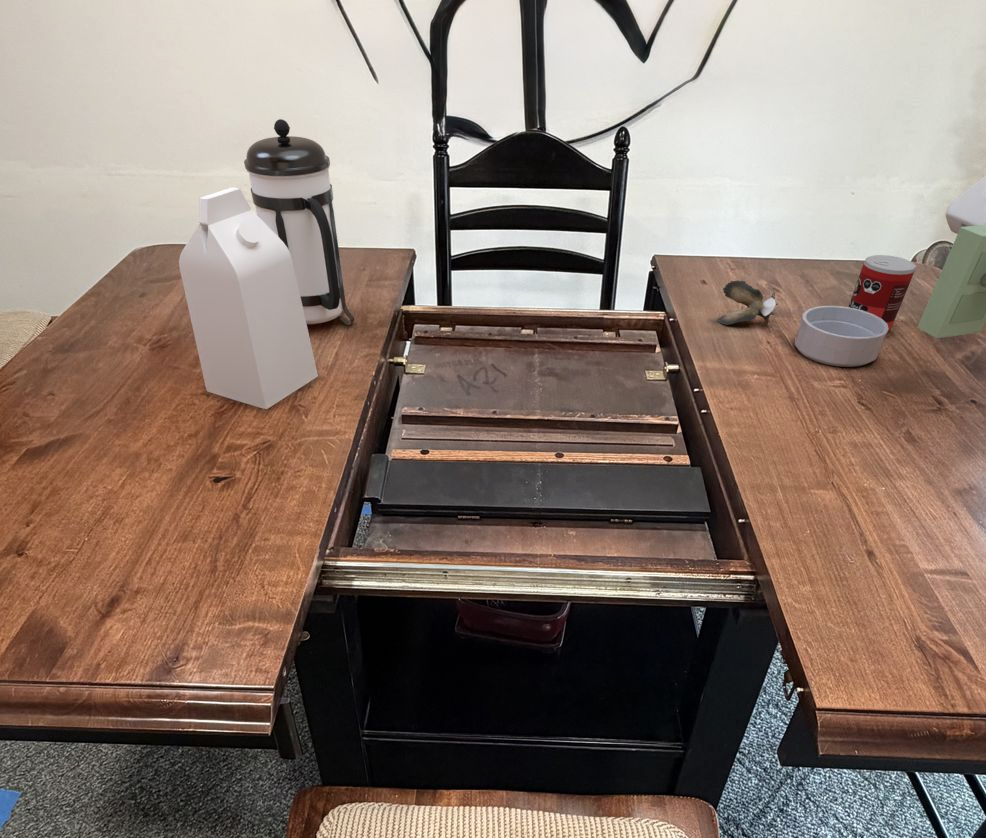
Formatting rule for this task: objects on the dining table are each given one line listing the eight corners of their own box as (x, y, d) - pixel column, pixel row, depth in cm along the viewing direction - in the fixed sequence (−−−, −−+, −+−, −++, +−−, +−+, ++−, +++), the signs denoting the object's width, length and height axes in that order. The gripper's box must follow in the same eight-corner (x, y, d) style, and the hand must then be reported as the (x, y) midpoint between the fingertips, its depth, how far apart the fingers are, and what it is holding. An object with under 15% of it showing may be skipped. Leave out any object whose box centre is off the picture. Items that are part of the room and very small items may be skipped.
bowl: (872, 340, 122) (883, 311, 119) (880, 373, 113) (892, 342, 110) (792, 330, 125) (801, 301, 121) (794, 362, 116) (803, 332, 112)
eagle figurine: (764, 305, 130) (717, 294, 129) (784, 280, 123) (735, 268, 122) (760, 341, 128) (713, 330, 128) (780, 318, 121) (730, 306, 121)
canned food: (839, 317, 129) (861, 253, 122) (885, 321, 128) (910, 256, 121) (845, 333, 124) (869, 268, 116) (894, 338, 123) (921, 272, 115)
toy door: (916, 327, 91) (959, 226, 83) (959, 321, 93) (1007, 221, 85) (936, 339, 89) (984, 236, 81) (981, 332, 90) (1032, 231, 82)
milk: (260, 360, 114) (219, 177, 96) (318, 376, 110) (286, 188, 92) (206, 391, 106) (150, 198, 88) (266, 409, 102) (220, 211, 85)
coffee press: (251, 334, 121) (204, 127, 100) (294, 300, 132) (260, 107, 112) (344, 347, 118) (315, 135, 97) (381, 311, 129) (362, 114, 108)
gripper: (1002, 140, 87) (903, 232, 91) (1158, 184, 73) (1032, 291, 77) (1011, 179, 91) (916, 265, 95) (1162, 228, 77) (1041, 327, 81)
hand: (969, 277), depth 86 cm, fingers closed on toy door, 4 cm apart
